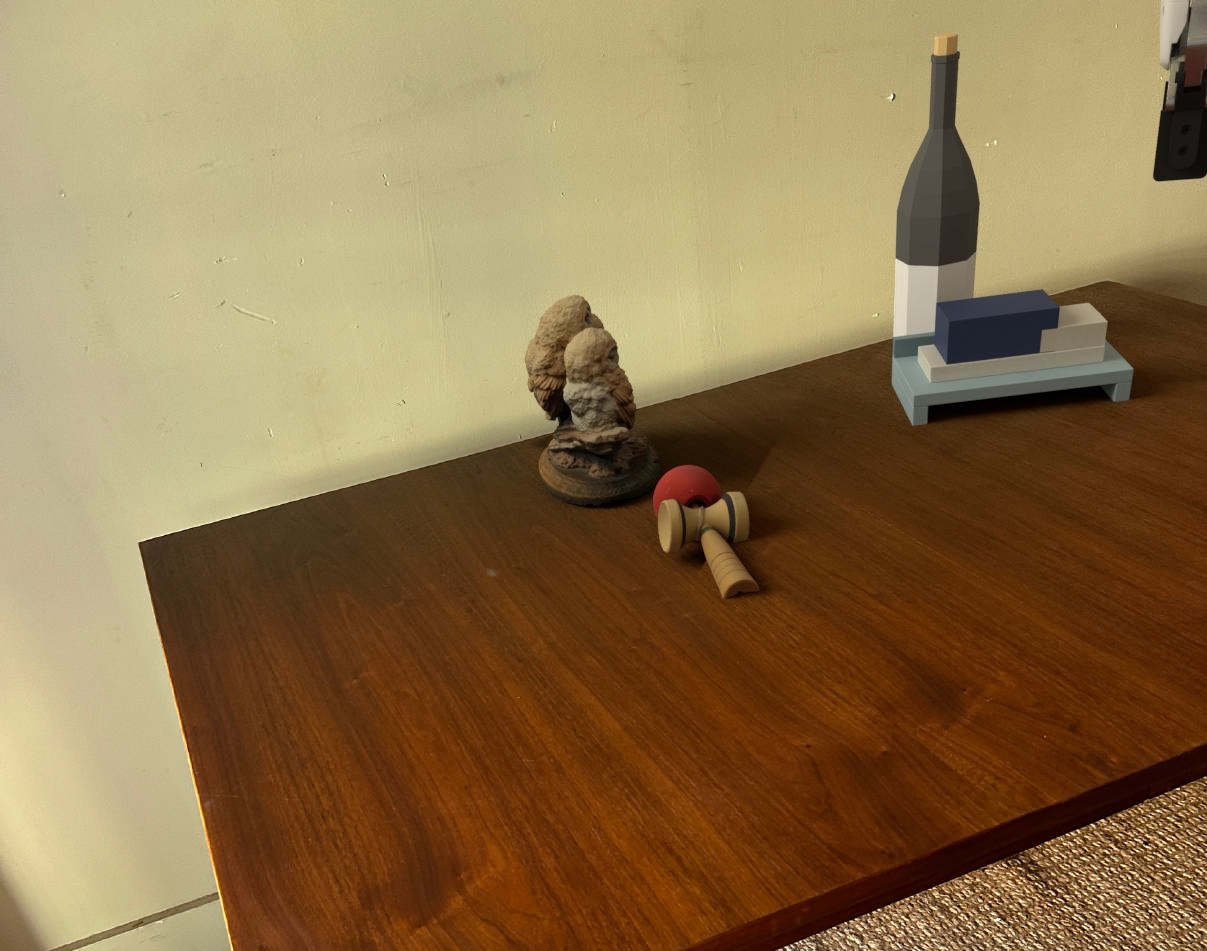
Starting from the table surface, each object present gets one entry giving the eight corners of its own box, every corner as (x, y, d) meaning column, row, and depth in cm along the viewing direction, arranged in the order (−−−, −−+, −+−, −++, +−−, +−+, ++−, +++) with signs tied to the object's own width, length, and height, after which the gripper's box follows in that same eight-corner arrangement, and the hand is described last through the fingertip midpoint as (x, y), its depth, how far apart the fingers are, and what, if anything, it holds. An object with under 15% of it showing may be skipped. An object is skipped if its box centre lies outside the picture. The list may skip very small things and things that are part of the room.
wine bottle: (934, 378, 125) (951, 44, 107) (876, 362, 131) (883, 42, 112) (985, 354, 129) (1010, 27, 110) (927, 340, 134) (942, 25, 115)
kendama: (797, 610, 95) (726, 494, 108) (785, 549, 91) (712, 434, 103) (707, 646, 96) (646, 525, 108) (690, 586, 91) (628, 467, 103)
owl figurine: (685, 496, 111) (668, 307, 100) (563, 524, 110) (533, 336, 99) (634, 429, 125) (614, 257, 114) (525, 453, 124) (495, 281, 113)
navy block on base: (1083, 340, 116) (1090, 281, 113) (1103, 362, 112) (1111, 301, 108) (917, 361, 118) (919, 303, 114) (929, 383, 113) (932, 323, 110)
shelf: (1090, 374, 121) (1099, 310, 117) (1126, 416, 113) (1137, 348, 109) (891, 398, 123) (892, 336, 119) (911, 441, 114) (914, 375, 110)
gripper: (1305, -171, 62) (1246, 189, 73) (1291, -182, 74) (1242, 128, 85) (1148, -145, 65) (1112, 198, 75) (1159, -159, 77) (1127, 138, 87)
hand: (1181, 160), depth 80 cm, fingers open, 9 cm apart
